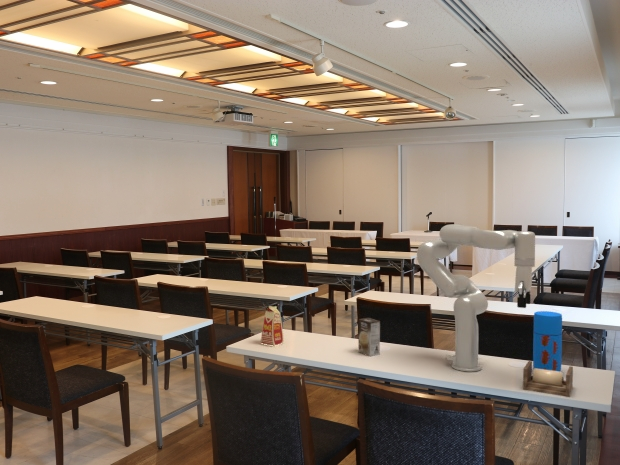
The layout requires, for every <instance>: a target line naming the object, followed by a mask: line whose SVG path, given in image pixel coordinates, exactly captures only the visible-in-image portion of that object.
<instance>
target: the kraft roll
mask: <svg viewBox="0 0 620 465" xmlns="http://www.w3.org/2000/svg"><path fill="white" fill-rule="evenodd" d="M532 378H533V383H539V384H545V385H552V386H559V387H562V386H563V383H564V380H565V378H564V372H563V371H561V372H559V371H552V370H544V369H537V368H534V371H533V370H532Z"/></svg>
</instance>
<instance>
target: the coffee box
mask: <svg viewBox="0 0 620 465" xmlns="http://www.w3.org/2000/svg"><path fill="white" fill-rule="evenodd" d="M380 343H381V321H380V320H377V319H374V318H371V317H365V318H364V317H363V318H359V319H358V343H357V344H358V349H357V350H358V353H360V352H361V353H360V354H362V353H363V355H365V354H366V356H368V357H374V356H378V354H379V355H380V354H381V352H380V349H381V346H380V345H381V344H380ZM373 355H374V356H373Z"/></svg>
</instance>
